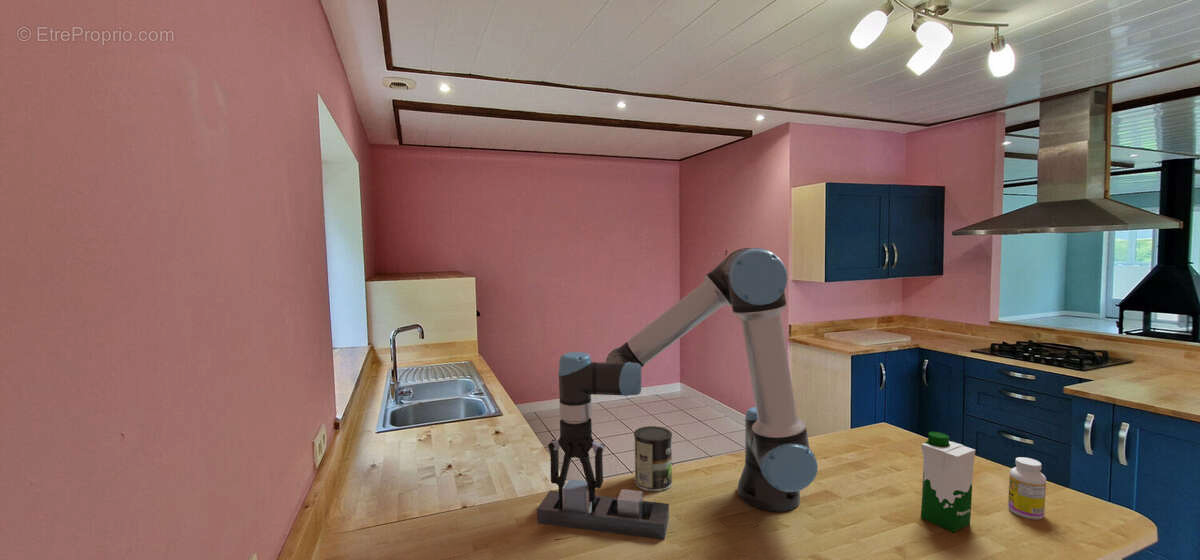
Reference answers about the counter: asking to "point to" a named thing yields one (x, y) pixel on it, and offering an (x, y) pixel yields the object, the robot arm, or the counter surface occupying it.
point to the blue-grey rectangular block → (575, 495)
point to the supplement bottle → (1027, 489)
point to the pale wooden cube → (630, 504)
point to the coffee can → (653, 458)
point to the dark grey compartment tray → (605, 517)
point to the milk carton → (947, 482)
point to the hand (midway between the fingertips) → (577, 512)
